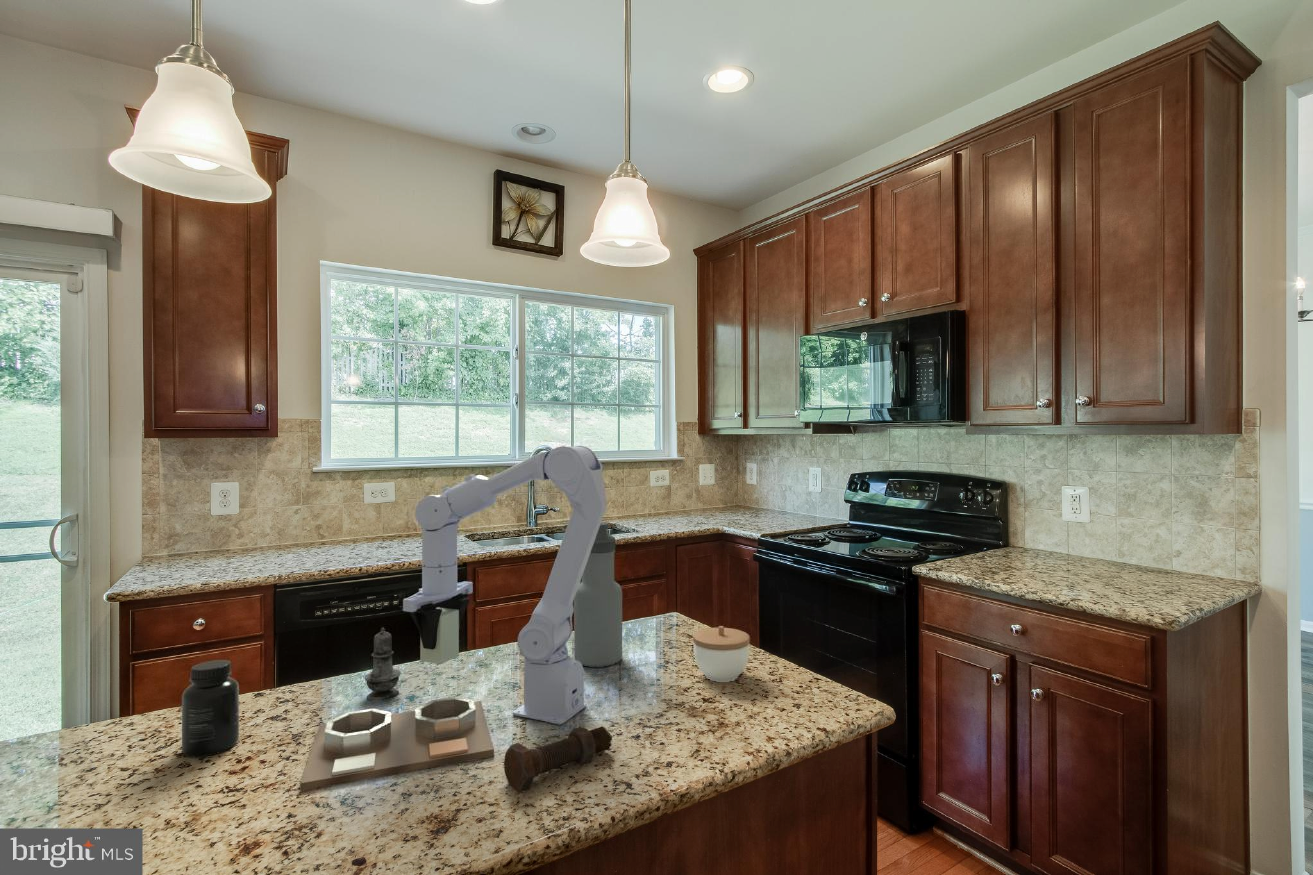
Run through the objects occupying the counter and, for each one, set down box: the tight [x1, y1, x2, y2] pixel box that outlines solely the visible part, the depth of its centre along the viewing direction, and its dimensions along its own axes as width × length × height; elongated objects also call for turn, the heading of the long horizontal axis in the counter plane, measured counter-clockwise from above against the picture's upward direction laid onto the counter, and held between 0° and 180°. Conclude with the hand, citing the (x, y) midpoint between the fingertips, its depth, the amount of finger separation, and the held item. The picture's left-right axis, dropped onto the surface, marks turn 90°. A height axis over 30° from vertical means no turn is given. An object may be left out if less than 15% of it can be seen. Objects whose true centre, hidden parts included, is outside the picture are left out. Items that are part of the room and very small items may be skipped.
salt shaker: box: [364, 626, 402, 703], centre depth 111 cm, size 6×6×12 cm
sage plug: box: [419, 606, 460, 665], centre depth 108 cm, size 4×4×8 cm
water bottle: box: [573, 521, 623, 668], centre depth 129 cm, size 10×10×28 cm
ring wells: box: [325, 696, 476, 755], centre depth 94 cm, size 21×9×2 cm, turn 111°
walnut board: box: [300, 700, 495, 792], centre depth 93 cm, size 24×18×1 cm
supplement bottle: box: [181, 659, 240, 758], centre depth 92 cm, size 7×7×12 cm
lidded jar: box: [692, 625, 751, 683], centre depth 119 cm, size 11×11×9 cm
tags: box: [332, 738, 468, 775], centre depth 87 cm, size 17×4×1 cm, turn 111°
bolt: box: [503, 725, 613, 793], centre depth 86 cm, size 6×5×15 cm
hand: (439, 643), depth 108 cm, fingers closed on sage plug, 4 cm apart
